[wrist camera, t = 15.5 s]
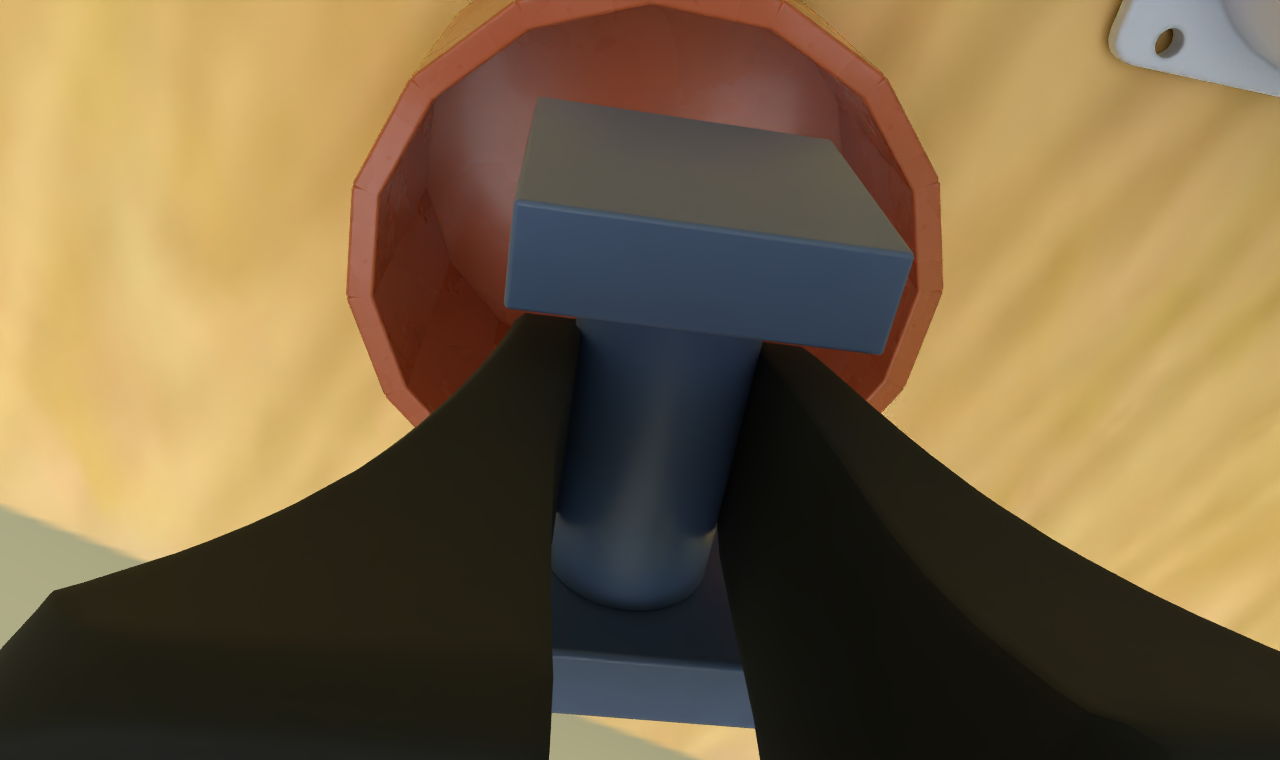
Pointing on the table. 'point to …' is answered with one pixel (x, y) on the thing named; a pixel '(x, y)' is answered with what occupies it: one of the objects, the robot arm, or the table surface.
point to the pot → (621, 78)
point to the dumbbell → (676, 370)
